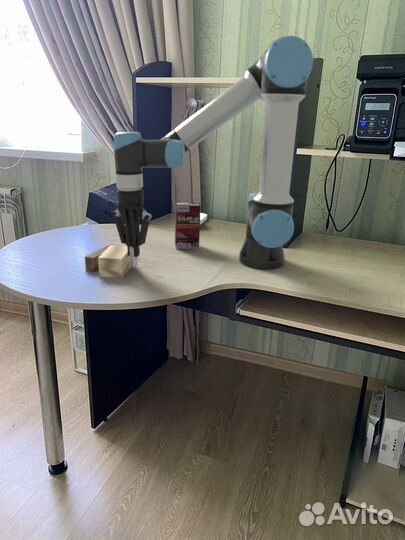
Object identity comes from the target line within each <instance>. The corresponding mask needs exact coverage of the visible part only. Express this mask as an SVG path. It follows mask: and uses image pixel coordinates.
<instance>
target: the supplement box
mask: <svg viewBox="0 0 405 540" xmlns="http://www.w3.org/2000/svg"><path fill="white" fill-rule="evenodd" d="M201 206H202V205H201V204H200V202H175V218H174V221H175V222H174V225H175V226H174V246H175V249H176V250H179V249H182V250H183V249H184V250H185V249H188V250H189V249H190V250H191V249H194V250H195V249H200V233H201V225H200V213H201Z"/></svg>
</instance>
